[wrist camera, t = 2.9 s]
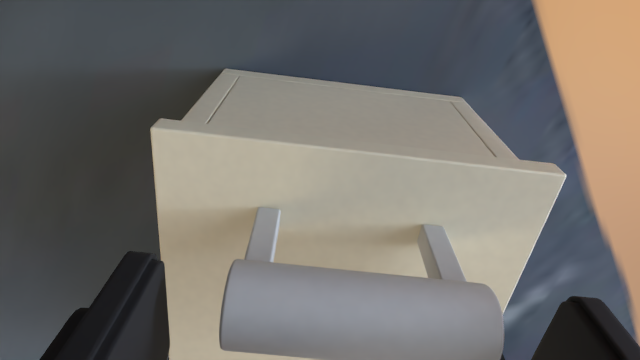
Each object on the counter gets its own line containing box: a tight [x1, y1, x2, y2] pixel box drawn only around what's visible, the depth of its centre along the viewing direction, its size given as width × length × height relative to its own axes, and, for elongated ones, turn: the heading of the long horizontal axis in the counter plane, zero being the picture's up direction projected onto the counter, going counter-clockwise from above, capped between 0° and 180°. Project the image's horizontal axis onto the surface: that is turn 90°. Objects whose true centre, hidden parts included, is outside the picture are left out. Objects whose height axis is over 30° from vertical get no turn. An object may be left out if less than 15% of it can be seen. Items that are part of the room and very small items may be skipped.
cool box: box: [181, 69, 519, 160], centre depth 20 cm, size 16×12×9 cm
